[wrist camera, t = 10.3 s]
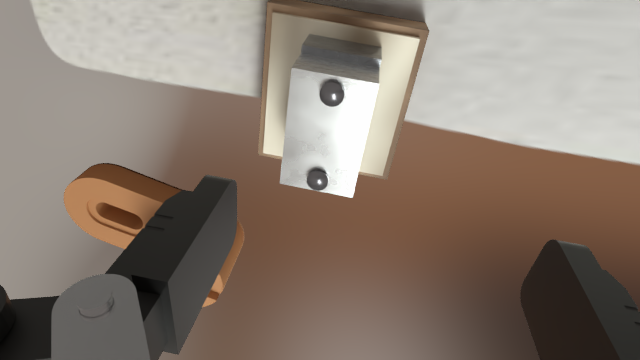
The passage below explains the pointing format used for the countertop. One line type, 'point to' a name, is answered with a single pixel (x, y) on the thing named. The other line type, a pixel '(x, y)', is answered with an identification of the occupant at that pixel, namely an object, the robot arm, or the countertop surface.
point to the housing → (329, 114)
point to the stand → (378, 30)
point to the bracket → (128, 209)
